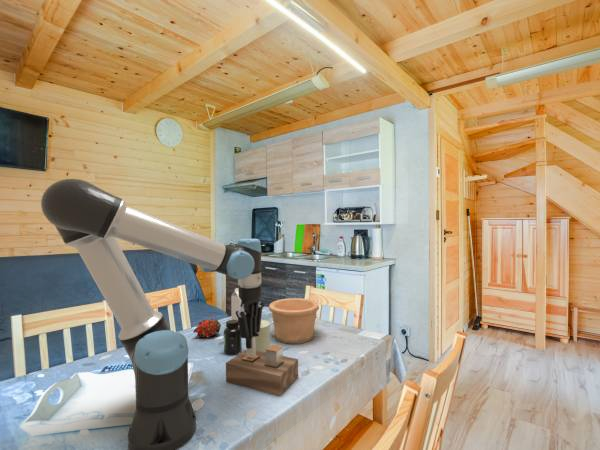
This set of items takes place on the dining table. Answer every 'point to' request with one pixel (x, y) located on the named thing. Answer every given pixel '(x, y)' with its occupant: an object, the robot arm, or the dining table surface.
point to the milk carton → (235, 304)
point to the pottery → (294, 319)
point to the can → (263, 336)
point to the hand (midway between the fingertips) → (251, 356)
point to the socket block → (262, 373)
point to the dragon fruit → (208, 328)
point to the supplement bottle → (232, 338)
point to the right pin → (274, 356)
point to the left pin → (250, 359)
